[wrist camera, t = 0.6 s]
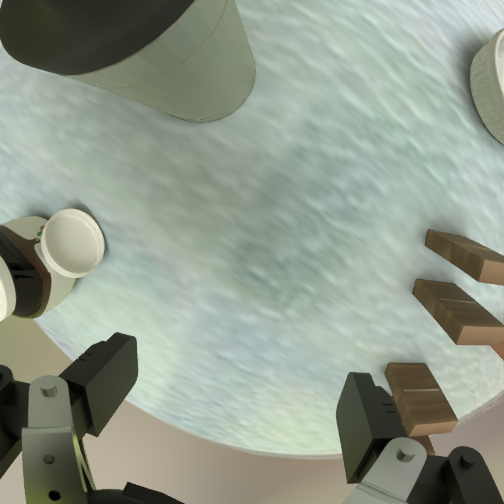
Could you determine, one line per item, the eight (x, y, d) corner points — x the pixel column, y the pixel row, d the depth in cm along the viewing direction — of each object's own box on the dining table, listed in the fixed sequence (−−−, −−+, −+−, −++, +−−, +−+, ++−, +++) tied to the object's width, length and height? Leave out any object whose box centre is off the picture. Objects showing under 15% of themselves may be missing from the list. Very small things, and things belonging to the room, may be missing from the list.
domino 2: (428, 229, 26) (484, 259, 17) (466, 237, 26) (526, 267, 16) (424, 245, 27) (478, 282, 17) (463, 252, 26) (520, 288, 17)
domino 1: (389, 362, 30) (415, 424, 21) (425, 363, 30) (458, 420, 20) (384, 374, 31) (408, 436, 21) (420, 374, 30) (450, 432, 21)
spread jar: (23, 253, 32) (-42, 283, 21) (49, 175, 29) (-29, 187, 17) (87, 311, 33) (27, 362, 21) (123, 235, 29) (49, 272, 18)
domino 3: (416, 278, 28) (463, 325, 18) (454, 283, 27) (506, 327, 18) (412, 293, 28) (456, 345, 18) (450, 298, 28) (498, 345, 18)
